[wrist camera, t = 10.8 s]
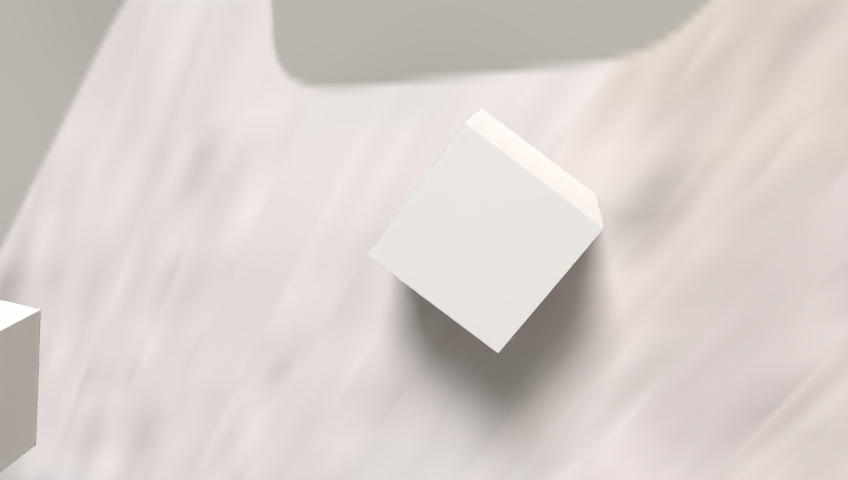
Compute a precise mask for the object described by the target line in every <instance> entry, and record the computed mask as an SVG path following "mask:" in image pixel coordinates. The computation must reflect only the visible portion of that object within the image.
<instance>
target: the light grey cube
mask: <svg viewBox="0 0 848 480" xmlns="http://www.w3.org/2000/svg"><path fill="white" fill-rule="evenodd" d="M603 229H604V227H603V222H602V218H601V213H600V209H599V204H598V200H597V195H595V194H594V193H593V192H592V191H590V190H589V189H588V188H586V187H585V186H584V185H582V184H581V183H580V182H578V181H577V180H576V179H574V178H573V177H572V176H570V175H569V174H568V173H566V172H565V171H564V170H562V169H561V168H560V167H559V166H557V165H556V164H555V163H553V162H552V161H551V160H549V159H548V158H547V157H545V156H544V155H543V154H541V153H540V152H539V151H537V150H536V149H535V148H533V147H532V146H531V145H529V144H528V143H527V142H526V141H524V140H523V139H522V138H520V137H519V136H518V135H516V134H515V133H514V132H512V131H511V130H510V129H508V128H507V127H506V126H504V125H503V124H502V123H500V122H499V121H498V120H496V119H495V118H494V117H493V116H491V115H490V114H489V113H487V112H486V111H485V110H483V109H482V108H481V109H480V110H479V111H478V112H476V113H475V114H474V115H473V116H472V117H471V118H470V119H468V120H467V121H466V122H465V123H464V124H463V126H462V127H461V128H460V130H459V131H458V132H457V134H456V135H455V136H454V138H453V139H452V141H451V142H450V143H449V145H448V146H447V147H446V149H445V150H444V151H443V153H442V154H441V155H440V157H439V158H438V160H437V161H436V162H435V164H434V165H433V166H432V168H431V169H430V170H429V172H428V173H427V174H426V176H425V177H424V179H423V180H422V181H421V183H420V184H419V185H418V187H417V188H416V189H415V191H414V192H413V193H412V195H411V196H410V198H409V199H408V200H407V202H406V203H405V204H404V206H403V207H402V208H401V210H400V211H399V212H398V214H397V215H396V216H395V218H394V219H393V221H392V222H391V223H390V225H389V226H388V227H387V229H386V230H385V231H384V233H383V234H382V235H381V237H380V238H379V240H378V241H377V242H376V244H375V245H374V246H373V248H372V249H371V250H370V252H369V253H368V254H367V255H368V256H369V257H370V258H372V259H373V260H374V261H376V262H377V263H378V264H380V265H381V266H382V267H384V268H385V269H386V270H388V271H389V272H390V273H392V274H393V275H394V276H396V277H397V278H398V279H400V280H401V281H402V282H404V283H405V284H406V285H408V286H409V287H410V288H412V289H413V290H414V291H416V292H417V293H418V294H420V295H421V296H422V297H424V298H425V299H426V300H428V301H429V302H430V303H432V304H433V305H434V306H436V307H437V308H438V309H440V310H441V311H442V312H444V313H445V314H446V315H448V316H449V317H450V318H452V319H453V320H454V321H456V322H457V323H458V324H460V325H461V326H462V327H464V328H465V329H466V330H468V331H469V332H470V333H472V334H473V335H474V336H476V337H477V338H478V339H480V340H481V341H482V342H484V343H485V344H486V345H488V346H489V347H490V348H492V349H493V350H494V351H496V352H497V353H499V352H500V351H501V349H502V348H503V347H504V346H505V345H506V343H507V342H508V341H509V340H510V339H511V338H512V336H513V335H514V334H515V333H516V332H517V330H518V329H519V328H520V327H521V326H522V325H523V323H524V322H525V321H526V320H527V319H528V317H529V316H530V315H531V314H532V313H533V311H534V310H535V309H536V308H537V307H538V306H539V304H540V303H541V302H542V301H543V300H544V298H545V297H546V296H547V295H548V294H549V293H550V291H551V290H552V289H553V288H554V287H555V285H556V284H557V283H558V282H559V281H560V280H561V278H562V277H563V276H564V275H565V274H566V272H567V271H568V270H569V269H570V268H571V267H572V265H573V264H574V263H575V262H576V261H577V259H578V258H579V257H580V256H581V255H582V253H583V252H584V251H585V250H586V249H587V248H588V246H589V245H590V244H591V243H592V242H593V240H594V239H595V238H596V237H597V236H598V235H599V233H600V232H601V231H602V230H603Z"/></svg>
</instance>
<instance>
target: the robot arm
mask: <svg viewBox="0 0 848 480" xmlns="http://www.w3.org/2000/svg"><path fill="white" fill-rule="evenodd" d="M40 318H41V310H40V309H36V308H32V307H28V306H24V305H19V304H15V303H11V302H7V301H3V300H1V301H0V472H1V471H3V470H4V469H5V468H7V467H8V466H9V465H10V464H12V463H13V462H14V461H16V460H17V459H18V458H19V457H21V456H22V455H23V454H25V453H26V452H27V451H28V450H30V449H31V448H32V447H34V446H35V445H36V428H37V401H38V373H39V345H40Z"/></svg>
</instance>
